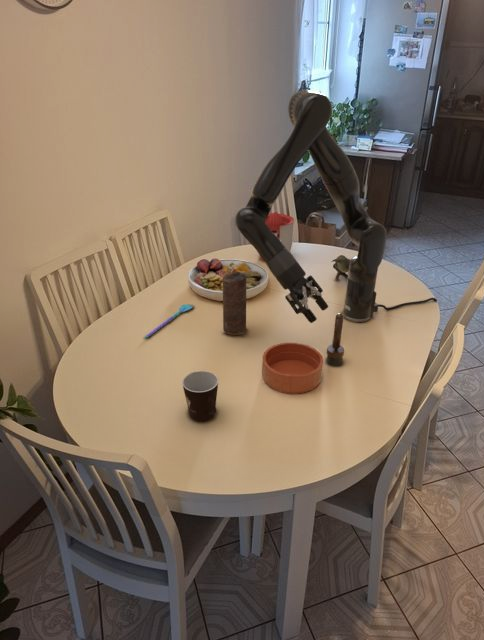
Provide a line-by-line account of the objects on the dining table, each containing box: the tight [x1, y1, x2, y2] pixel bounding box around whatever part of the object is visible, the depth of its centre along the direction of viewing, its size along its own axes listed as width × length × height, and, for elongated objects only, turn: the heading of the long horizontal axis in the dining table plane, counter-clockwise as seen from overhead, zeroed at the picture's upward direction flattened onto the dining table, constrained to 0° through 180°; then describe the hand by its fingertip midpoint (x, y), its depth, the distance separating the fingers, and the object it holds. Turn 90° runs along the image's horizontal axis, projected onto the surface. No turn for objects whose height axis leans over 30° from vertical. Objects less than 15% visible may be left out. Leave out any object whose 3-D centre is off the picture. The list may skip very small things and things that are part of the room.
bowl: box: [187, 257, 270, 302], centre depth 183 cm, size 30×30×8 cm
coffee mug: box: [181, 370, 219, 423], centre depth 119 cm, size 12×9×10 cm
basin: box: [261, 342, 324, 395], centre depth 136 cm, size 17×17×6 cm
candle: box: [222, 272, 247, 336], centre depth 152 cm, size 8×7×20 cm
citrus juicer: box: [259, 211, 295, 261], centre depth 203 cm, size 16×17×20 cm
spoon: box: [145, 304, 194, 339], centre depth 161 cm, size 25×4×1 cm, turn 158°
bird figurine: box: [331, 254, 351, 281], centre depth 190 cm, size 13×10×20 cm
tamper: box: [326, 313, 345, 367], centre depth 140 cm, size 5×5×16 cm
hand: (320, 314), depth 138 cm, fingers open, 8 cm apart
